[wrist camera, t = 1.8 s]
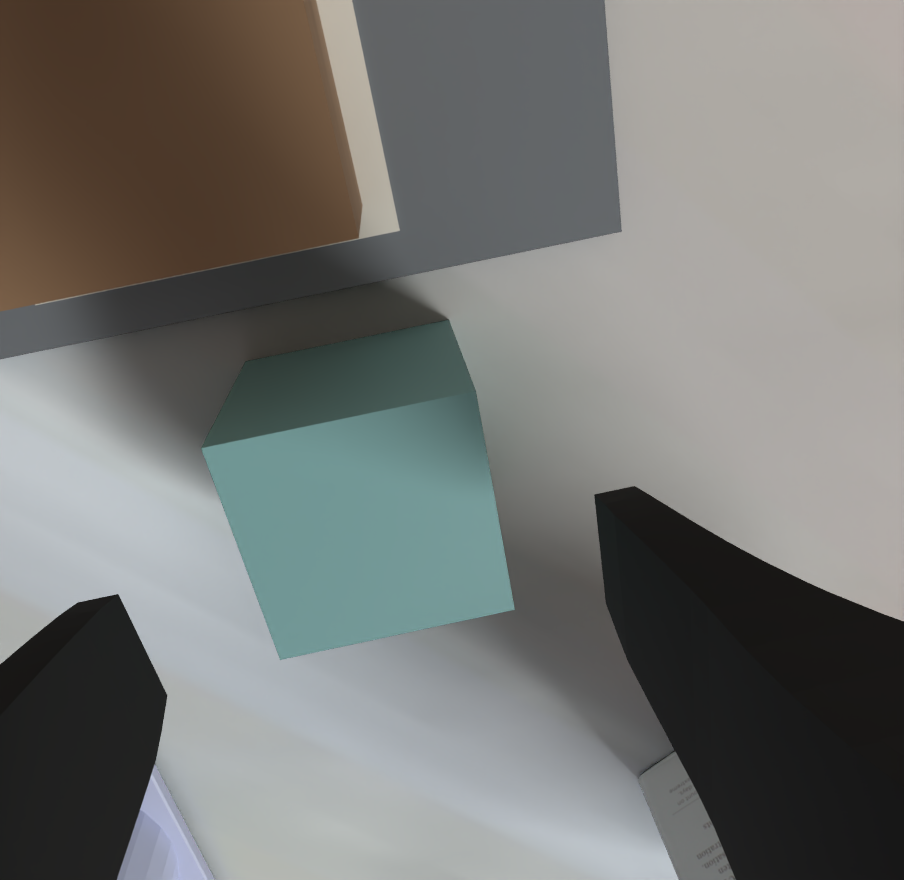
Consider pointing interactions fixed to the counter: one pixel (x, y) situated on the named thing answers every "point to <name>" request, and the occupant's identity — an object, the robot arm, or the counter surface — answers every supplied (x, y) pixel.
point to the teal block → (361, 490)
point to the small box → (684, 822)
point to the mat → (416, 160)
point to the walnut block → (164, 141)
